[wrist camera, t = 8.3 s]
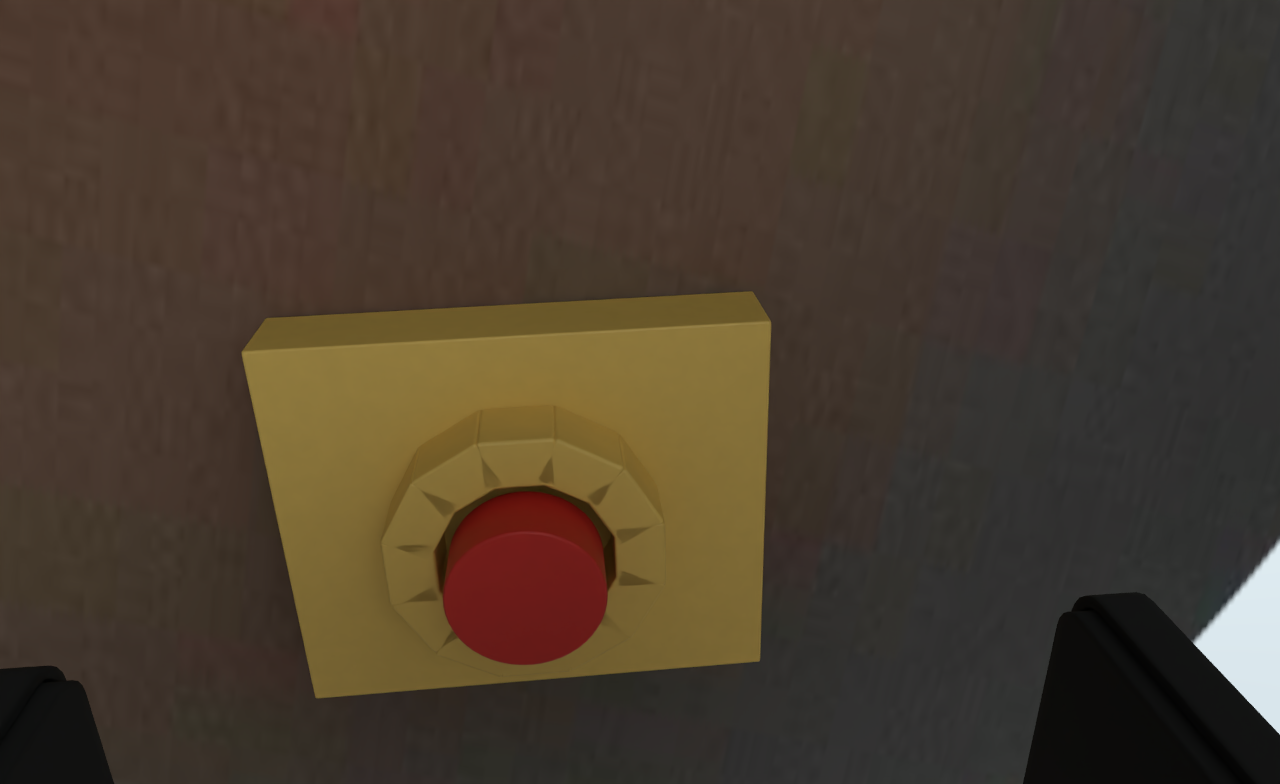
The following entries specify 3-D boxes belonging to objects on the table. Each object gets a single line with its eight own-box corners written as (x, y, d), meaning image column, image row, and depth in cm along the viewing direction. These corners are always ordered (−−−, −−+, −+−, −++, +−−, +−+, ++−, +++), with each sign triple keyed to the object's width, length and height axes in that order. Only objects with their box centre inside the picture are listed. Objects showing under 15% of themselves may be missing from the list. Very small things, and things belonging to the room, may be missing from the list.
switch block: (753, 290, 24) (790, 350, 21) (745, 612, 29) (774, 708, 25) (265, 317, 24) (215, 385, 20) (331, 645, 28) (299, 750, 24)
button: (599, 484, 22) (604, 525, 21) (606, 612, 24) (611, 659, 22) (440, 495, 22) (433, 538, 20) (457, 623, 23) (451, 672, 22)
